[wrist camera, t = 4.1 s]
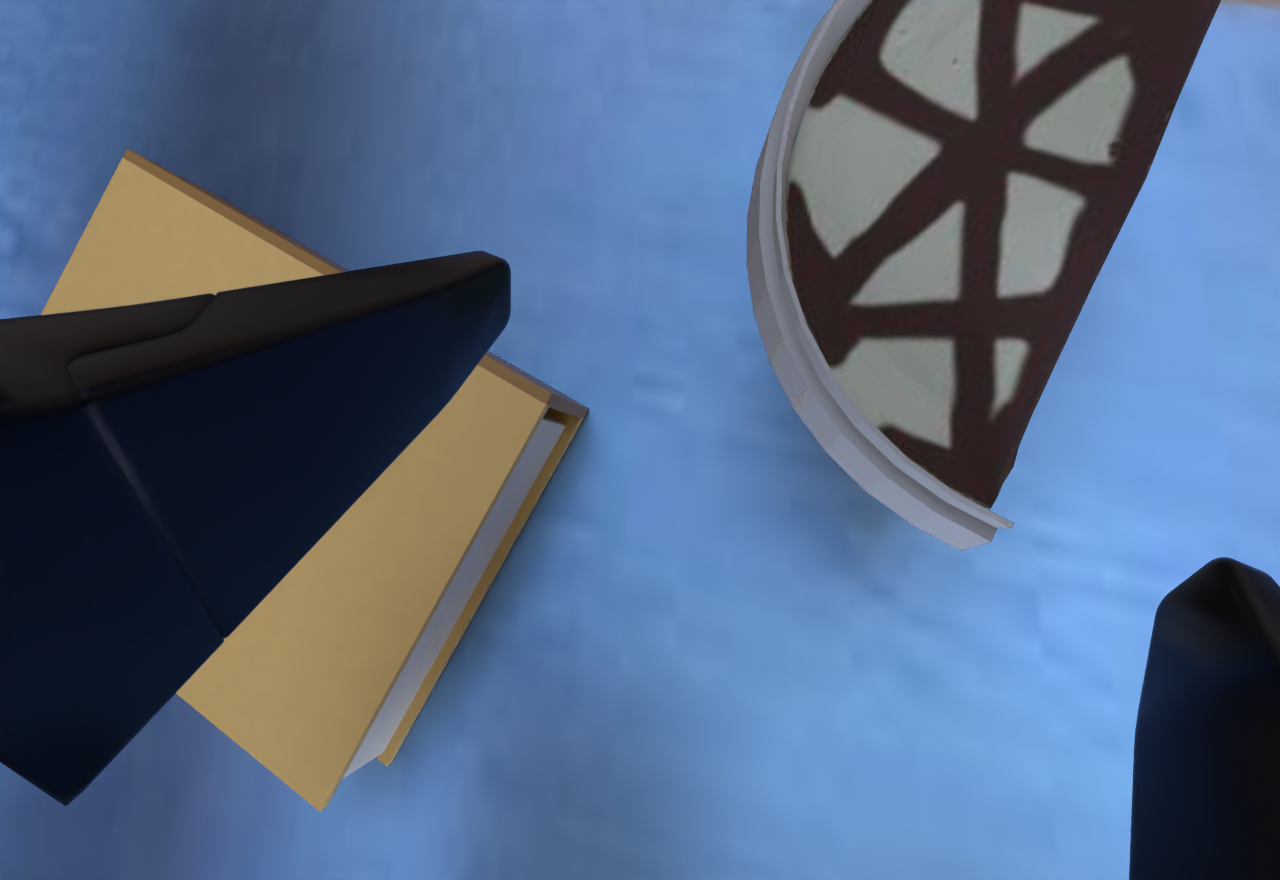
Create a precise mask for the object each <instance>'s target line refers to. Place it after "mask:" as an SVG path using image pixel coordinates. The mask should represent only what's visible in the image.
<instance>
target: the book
mask: <svg viewBox="0 0 1280 880" xmlns="http://www.w3.org/2000/svg"><path fill="white" fill-rule="evenodd" d="M341 272H348V270H346V269H344V268H343V267H341V266H339V265H338V264H336V263H334V262H332V261H331V260H329V259H327V258H325V257H324V256H322V255H320V254H318V253H317V252H315V251H313V250H311V249H310V248H308V247H306V246H304V245H303V244H301V243H299V242H297V241H296V240H294V239H292V238H291V237H289V236H287V235H285V234H284V233H282V232H280V231H278V230H277V229H275V228H273V227H271V226H270V225H268V224H266V223H264V222H263V221H261V220H259V219H257V218H256V217H254V216H252V215H250V214H249V213H247V212H245V211H244V210H242V209H240V208H238V207H237V206H235V205H233V204H231V203H230V202H228V201H226V200H224V199H223V198H221V197H219V196H217V195H216V194H214V193H212V192H210V191H208V190H206V189H204V188H202V187H200V186H198V185H197V184H195V183H193V182H191V181H189V180H187V179H185V178H183V177H181V176H179V175H177V174H175V173H174V172H172V171H170V170H168V169H166V168H164V167H162V166H160V165H158V164H156V163H154V162H153V161H151V160H149V159H147V158H145V157H143V156H141V155H139V154H137V153H135V152H133V151H132V150H130V149H127V150H126V152H125V154H124V156H123V158H122V160H121V162H120V163H119V165H118V167H117V169H116V171H115V173H114V175H113V177H112V179H111V181H110V183H109V185H108V187H107V188H106V190H105V192H104V194H103V196H102V198H101V200H100V202H99V204H98V206H97V208H96V210H95V212H94V213H93V215H92V217H91V219H90V221H89V223H88V225H87V227H86V229H85V231H84V233H83V235H82V237H81V238H80V240H79V242H78V244H77V246H76V248H75V250H74V252H73V254H72V256H71V258H70V260H69V262H68V263H67V265H66V267H65V269H64V271H63V273H62V275H61V277H60V279H59V281H58V283H57V285H56V287H55V288H54V290H53V292H52V294H51V296H50V298H49V300H48V302H47V304H46V306H45V308H44V310H43V312H42V313H41V315H46V314H56V313H65V312H75V311H83V310H92V309H100V308H109V307H118V306H126V305H134V304H141V303H148V302H155V301H162V300H169V299H176V298H182V297H189V296H195V295H201V294H207V293H212V294H214V295H216V293H218V292H221V291H228V290H234V289H240V288H246V287H253V286H259V285H265V284H272V283H278V282H284V281H291V280H297V279H303V278H310V277H316V276H322V275H329V274H335V273H341ZM588 410H589V409H588V408H587V407H585V406H583V405H581V404H580V403H578V402H576V401H574V400H573V399H571V398H569V397H567V396H566V395H564V394H562V393H560V392H559V391H557V390H555V389H553V388H552V387H550V386H548V385H546V384H545V383H543V382H541V381H539V380H538V379H536V378H534V377H533V376H531V375H529V374H527V373H526V372H524V371H522V370H520V369H519V368H517V367H515V366H513V365H512V364H510V363H508V362H506V361H505V360H503V359H501V358H499V357H498V356H496V355H494V354H492V353H491V352H489V351H487V353H486V354H485V355H484V357H483V358H482V359H481V361H480V362H479V363H478V365H477V366H476V367H475V369H474V370H473V371H472V373H471V374H470V376H469V377H468V378H467V380H466V381H465V382H464V384H463V385H462V386H461V388H460V389H459V390H458V392H457V393H456V394H455V395H454V397H453V398H452V399H451V400H450V402H449V403H448V404H447V405H446V406H445V407H444V408H443V409H442V411H441V412H440V413H439V414H438V415H437V416H436V417H435V418H434V419H433V420H432V421H431V422H430V424H429V425H428V426H427V427H426V428H425V429H424V430H423V431H422V432H421V433H420V434H419V435H418V436H417V437H416V438H415V439H414V440H413V442H412V443H411V444H410V445H409V446H408V447H407V448H406V449H405V450H404V451H403V452H402V453H401V454H400V455H399V456H398V457H397V459H396V460H395V461H394V462H393V463H392V464H391V465H390V466H389V467H388V468H387V469H386V470H385V471H384V472H383V473H382V474H381V475H380V477H379V478H378V479H377V480H376V481H375V482H374V483H373V484H372V485H371V486H370V487H369V488H368V489H367V490H366V491H365V492H364V494H363V495H362V496H361V497H360V498H359V499H358V500H357V501H356V502H355V503H354V504H353V505H352V506H351V507H350V508H349V509H348V510H347V512H346V513H345V514H344V515H343V516H342V517H341V518H340V519H339V520H338V521H337V522H336V523H335V524H334V525H333V526H332V527H331V529H330V530H329V531H328V532H327V533H326V534H325V535H324V536H323V537H322V538H321V539H320V540H319V541H318V542H317V543H316V544H315V545H314V547H313V548H312V549H311V550H310V551H309V552H308V553H307V554H306V555H305V556H304V557H303V558H302V559H301V560H300V561H299V562H298V564H297V565H296V566H295V567H294V568H293V569H292V570H291V571H290V572H289V573H288V574H287V575H286V576H285V577H284V578H283V579H282V580H281V582H280V583H279V584H278V585H277V586H276V587H275V588H274V589H273V590H272V591H271V592H270V593H269V594H268V595H267V596H266V597H265V599H264V600H263V601H262V602H261V603H260V604H259V605H258V606H257V607H256V608H255V609H254V610H253V611H252V612H251V613H250V614H249V615H248V617H247V618H246V619H245V620H244V621H243V622H242V623H241V624H240V625H239V626H238V627H237V628H236V629H235V630H234V631H233V632H232V633H231V635H230V636H229V637H227V638H224V643H223V644H222V645H221V646H220V647H219V648H218V649H217V650H216V651H215V652H214V653H213V654H212V655H211V656H210V657H209V658H208V660H207V661H206V662H205V663H204V664H203V665H202V666H201V667H200V668H199V669H198V670H197V671H196V672H195V673H194V674H193V675H192V676H191V678H190V679H189V680H188V681H187V682H186V683H185V684H184V685H183V686H182V687H181V688H180V689H179V690H178V691H177V692H176V694H178V695H179V696H180V697H181V698H182V699H184V700H185V701H186V702H187V703H188V704H190V705H191V706H192V707H193V708H195V709H196V710H197V711H198V712H199V713H201V714H202V715H203V716H204V717H205V718H207V719H208V720H209V721H210V722H212V723H213V724H214V725H215V726H216V727H218V728H219V729H220V730H221V731H222V732H224V733H225V734H226V735H227V736H229V737H230V738H231V739H232V740H233V741H235V742H236V743H237V744H238V745H239V746H241V747H242V748H243V749H244V750H246V751H247V752H248V753H249V754H250V755H252V756H253V757H254V758H255V759H256V760H258V761H259V762H260V763H261V764H263V765H264V766H265V767H266V768H267V769H269V770H270V771H271V772H272V773H273V774H275V775H276V776H277V777H278V778H280V779H281V780H282V781H283V782H284V783H286V784H287V785H288V786H289V787H290V788H292V789H293V790H294V791H295V792H297V793H298V794H299V795H300V796H301V797H303V798H304V799H305V800H306V801H307V802H309V803H310V804H311V805H312V806H313V807H315V808H316V809H317V810H318V811H322V810H323V809H324V808H326V807H327V805H328V804H329V802H330V800H331V798H332V796H333V795H334V793H335V791H336V789H337V787H338V786H339V784H340V782H341V780H342V779H343V778H345V777H346V776H348V775H349V774H351V773H353V772H354V771H356V770H357V769H359V768H360V767H362V766H363V765H365V764H367V763H368V762H370V761H371V760H373V759H374V758H377V759H378V760H379V761H381V762H382V763H383V764H385V765H386V766H387V765H389V764H390V763H392V761H393V759H394V758H395V756H396V754H397V752H398V750H399V749H400V747H401V745H402V743H403V741H404V740H405V738H406V736H407V734H408V733H409V731H410V729H411V727H412V725H413V724H414V722H415V720H416V718H417V716H418V715H419V713H420V711H421V709H422V707H423V706H424V704H425V702H426V700H427V699H428V697H429V695H430V693H431V691H432V690H433V688H434V686H435V684H436V682H437V681H438V679H439V677H440V675H441V674H442V672H443V670H444V668H445V666H446V665H447V663H448V661H449V659H450V657H451V656H452V654H453V652H454V650H455V648H456V647H457V645H458V643H459V641H460V640H461V638H462V636H463V634H464V632H465V631H466V629H467V627H468V625H469V623H470V622H471V620H472V618H473V616H474V614H475V613H476V611H477V609H478V607H479V606H480V604H481V602H482V600H483V598H484V597H485V595H486V593H487V591H488V589H489V588H490V586H491V584H492V582H493V580H494V579H495V577H496V575H497V573H498V572H499V570H500V568H501V566H502V564H503V563H504V561H505V559H506V557H507V555H508V554H509V552H510V550H511V548H512V546H513V545H514V543H515V541H516V539H517V538H518V536H519V534H520V532H521V530H522V529H523V527H524V525H525V523H526V521H527V520H528V518H529V516H530V514H531V513H532V511H533V509H534V507H535V505H536V504H537V502H538V500H539V498H540V496H541V495H542V493H543V491H544V489H545V487H546V486H547V484H548V482H549V480H550V479H551V477H552V475H553V473H554V471H555V470H556V468H557V466H558V464H559V462H560V461H561V459H562V457H563V455H564V453H565V452H566V450H567V448H568V446H569V445H570V443H571V441H572V439H573V437H574V436H575V434H576V432H577V430H578V428H579V427H580V425H581V423H582V421H583V419H584V417H585V416H586V414H587V412H588Z"/></svg>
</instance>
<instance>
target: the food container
mask: <svg viewBox="0 0 1280 880" xmlns="http://www.w3.org/2000/svg"><path fill="white" fill-rule="evenodd" d="M1220 1H1221V0H836V1H835V2H834V3H833V5H832V6H831V8H830V9H829V10H828V12H827V13H826V14H825V16H824V17H823V18H822V20H821V21H820V22H819V24H818V25H817V26H816V28H815V29H814V31H813V33H812V35H811V37H810V38H809V40H808V42H807V44H806V46H805V48H804V50H803V51H802V53H801V55H800V57H799V59H798V61H797V63H796V64H795V66H794V68H793V70H792V72H791V74H790V76H789V77H788V80H787V83H786V85H785V88H784V91H783V93H782V96H781V99H780V101H779V104H778V107H777V109H776V112H775V115H774V117H773V120H772V123H771V126H770V129H769V131H768V134H767V137H766V140H765V143H764V146H763V149H762V151H761V154H760V157H759V160H758V163H757V166H756V171H755V176H754V182H753V187H752V193H751V199H750V204H749V210H748V215H747V270H748V277H749V284H750V291H751V297H752V304H753V311H754V316H755V319H756V322H757V325H758V328H759V331H760V334H761V337H762V340H763V343H764V347H765V350H766V353H767V356H768V359H769V362H770V364H771V366H772V368H773V370H774V372H775V374H776V376H777V378H778V380H779V382H780V383H781V385H782V387H783V389H784V391H785V393H786V395H787V397H788V399H789V401H790V403H791V405H792V407H793V409H794V410H795V411H796V413H797V414H798V415H799V417H800V418H801V419H802V421H803V422H804V424H805V425H806V426H807V428H808V429H809V430H810V432H811V433H812V434H813V436H814V437H815V438H816V440H817V441H818V442H819V444H820V445H821V447H822V448H823V449H824V451H825V452H826V453H827V454H828V455H829V456H830V457H831V458H832V459H833V460H834V461H835V462H836V463H837V464H838V465H839V466H840V467H841V468H842V469H843V470H844V471H845V472H846V473H847V474H848V475H849V476H850V477H851V478H852V479H854V480H855V481H856V482H857V483H858V484H859V485H860V486H861V487H862V488H863V489H864V490H865V491H866V492H867V493H869V494H870V495H871V496H873V497H874V498H876V499H877V500H878V501H880V502H881V503H882V504H884V505H885V506H887V507H888V508H889V509H891V510H892V511H894V512H895V513H896V514H898V515H899V516H900V517H902V518H903V519H905V520H906V521H907V522H909V523H910V524H911V525H913V526H915V527H917V528H919V529H921V530H923V531H924V532H926V533H928V534H930V535H932V536H934V537H936V538H938V539H940V540H942V541H943V542H945V543H947V544H949V545H951V546H953V547H955V548H957V549H959V550H964V549H968V548H971V547H975V546H978V545H982V544H985V543H989V542H991V541H992V539H993V536H994V534H995V532H996V529H997V528H1012V527H1013V525H1014V523H1013V522H1011V521H1009V520H1007V519H1005V518H1003V517H1001V516H999V515H997V514H995V513H993V512H991V511H989V510H988V509H990V508H991V507H992V505H993V503H994V502H995V500H996V498H997V496H998V494H999V492H1000V489H1001V487H1002V484H1003V482H1004V481H1005V479H1006V478H1007V476H1008V474H1009V473H1010V471H1011V470H1012V468H1013V466H1014V462H1015V459H1016V455H1017V451H1018V447H1019V444H1020V442H1021V440H1022V437H1023V435H1024V432H1025V430H1026V428H1027V425H1028V423H1029V420H1030V418H1031V416H1032V414H1033V411H1034V409H1035V407H1036V405H1037V403H1038V401H1039V399H1040V396H1041V394H1042V392H1043V390H1044V388H1045V386H1046V384H1047V381H1048V379H1049V377H1050V375H1051V373H1052V371H1053V369H1054V366H1055V364H1056V362H1057V360H1058V358H1059V356H1060V354H1061V351H1062V349H1063V347H1064V345H1065V343H1066V341H1067V339H1068V337H1069V334H1070V332H1071V330H1072V328H1073V326H1074V324H1075V322H1076V320H1077V318H1078V315H1079V313H1080V311H1081V309H1082V307H1083V305H1084V303H1085V301H1086V299H1087V296H1088V294H1089V292H1090V290H1091V288H1092V286H1093V284H1094V282H1095V280H1096V278H1097V276H1098V274H1099V272H1100V270H1101V268H1102V266H1103V264H1104V262H1105V260H1106V258H1107V256H1108V254H1109V252H1110V250H1111V248H1112V246H1113V244H1114V242H1115V240H1116V238H1117V236H1118V234H1119V232H1120V230H1121V228H1122V226H1123V224H1124V222H1125V220H1126V217H1127V215H1128V213H1129V211H1130V209H1131V207H1132V205H1133V203H1134V201H1135V199H1136V197H1137V195H1138V193H1139V191H1140V189H1141V187H1142V185H1143V183H1144V181H1145V179H1146V177H1147V175H1148V172H1149V170H1150V167H1151V165H1152V162H1153V160H1154V157H1155V155H1156V152H1157V150H1158V147H1159V145H1160V142H1161V140H1162V137H1163V135H1164V132H1165V130H1166V127H1167V125H1168V122H1169V120H1170V117H1171V115H1172V112H1173V110H1174V107H1175V105H1176V102H1177V100H1178V98H1179V95H1180V93H1181V91H1182V88H1183V86H1184V84H1185V81H1186V79H1187V77H1188V74H1189V72H1190V70H1191V67H1192V65H1193V63H1194V60H1195V58H1196V56H1197V53H1198V51H1199V49H1200V46H1201V44H1202V42H1203V39H1204V37H1205V35H1206V32H1207V30H1208V28H1209V26H1210V24H1211V21H1212V19H1213V17H1214V15H1215V12H1216V10H1217V8H1218V6H1219V4H1220ZM986 508H988V509H986Z"/></svg>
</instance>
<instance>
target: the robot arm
mask: <svg viewBox="0 0 1280 880" xmlns="http://www.w3.org/2000/svg"><path fill="white" fill-rule="evenodd" d="M510 311H511V270H510V266H509V264H508V263H507V261H506V260H504V259H502V258H499V257H497V256H495V255H492V254H490V253H487V252H485V251H474V252H468V253H462V254H455V255H449V256H443V257H436V258H430V259H424V260H417V261H411V262H405V263H398V264H392V265H386V266H379V267H373V268H367V269H360V270H354V271H348V272H341V273H335V274H329V275H322V276H316V277H310V278H303V279H297V280H291V281H284V282H278V283H272V284H265V285H259V286H253V287H246V288H240V289H234V290H228V291H221V292H218V293H216V295H214V294H212V293H207V294H201V295H195V296H189V297H182V298H176V299H169V300H162V301H155V302H148V303H141V304H134V305H126V306H118V307H109V308H100V309H92V310H83V311H75V312H65V313H56V314H46V315H37V316H27V317H18V318H8V319H0V762H1V763H2V764H4V765H5V766H7V767H8V768H10V769H11V770H13V771H14V772H16V773H17V774H19V775H20V776H22V777H23V778H24V779H26V780H27V781H29V782H30V783H32V784H33V785H35V786H36V787H38V788H39V789H41V790H42V791H44V792H45V793H47V794H48V795H50V796H51V797H52V798H54V799H55V800H57V801H58V802H60V803H61V804H63V805H64V806H67V805H68V804H70V803H71V802H72V801H73V800H74V799H75V798H76V797H77V796H79V795H80V794H81V793H82V792H83V791H84V790H85V789H86V788H87V787H88V786H89V785H90V784H91V782H92V781H93V780H94V779H95V778H96V777H97V776H98V775H99V774H100V773H101V772H102V771H103V770H104V769H105V768H106V767H107V765H108V764H109V763H110V762H111V761H112V760H113V759H114V758H115V757H116V756H117V755H118V754H119V753H120V752H121V751H122V750H123V749H124V747H125V746H126V745H127V744H128V743H129V742H130V741H131V740H132V739H133V738H134V737H135V736H136V735H137V734H138V733H139V732H140V730H141V729H142V728H143V727H144V726H145V725H146V724H147V723H148V722H149V721H150V720H151V719H152V718H153V717H154V716H155V715H156V714H157V712H158V711H159V710H160V709H161V708H162V707H163V706H164V705H165V704H166V703H167V702H168V701H169V700H170V699H171V698H172V697H173V696H174V694H175V693H176V692H177V691H178V690H179V689H180V688H181V687H182V686H183V685H184V684H185V683H186V682H187V681H188V680H189V679H190V678H191V676H192V675H193V674H194V673H195V672H196V671H197V670H198V669H199V668H200V667H201V666H202V665H203V664H204V663H205V662H206V661H207V660H208V658H209V657H210V656H211V655H212V654H213V653H214V652H215V651H216V650H217V649H218V648H219V647H220V646H221V645H222V644H223V643H224V638H227V637H229V636H230V635H231V633H232V632H233V631H234V630H235V629H236V628H237V627H238V626H239V625H240V624H241V623H242V622H243V621H244V620H245V619H246V618H247V617H248V615H249V614H250V613H251V612H252V611H253V610H254V609H255V608H256V607H257V606H258V605H259V604H260V603H261V602H262V601H263V600H264V599H265V597H266V596H267V595H268V594H269V593H270V592H271V591H272V590H273V589H274V588H275V587H276V586H277V585H278V584H279V583H280V582H281V580H282V579H283V578H284V577H285V576H286V575H287V574H288V573H289V572H290V571H291V570H292V569H293V568H294V567H295V566H296V565H297V564H298V562H299V561H300V560H301V559H302V558H303V557H304V556H305V555H306V554H307V553H308V552H309V551H310V550H311V549H312V548H313V547H314V545H315V544H316V543H317V542H318V541H319V540H320V539H321V538H322V537H323V536H324V535H325V534H326V533H327V532H328V531H329V530H330V529H331V527H332V526H333V525H334V524H335V523H336V522H337V521H338V520H339V519H340V518H341V517H342V516H343V515H344V514H345V513H346V512H347V510H348V509H349V508H350V507H351V506H352V505H353V504H354V503H355V502H356V501H357V500H358V499H359V498H360V497H361V496H362V495H363V494H364V492H365V491H366V490H367V489H368V488H369V487H370V486H371V485H372V484H373V483H374V482H375V481H376V480H377V479H378V478H379V477H380V475H381V474H382V473H383V472H384V471H385V470H386V469H387V468H388V467H389V466H390V465H391V464H392V463H393V462H394V461H395V460H396V459H397V457H398V456H399V455H400V454H401V453H402V452H403V451H404V450H405V449H406V448H407V447H408V446H409V445H410V444H411V443H412V442H413V440H414V439H415V438H416V437H417V436H418V435H419V434H420V433H421V432H422V431H423V430H424V429H425V428H426V427H427V426H428V425H429V424H430V422H431V421H432V420H433V419H434V418H435V417H436V416H437V415H438V414H439V413H440V412H441V411H442V409H443V408H444V407H445V406H446V405H447V404H448V403H449V402H450V400H451V399H452V398H453V397H454V395H455V394H456V393H457V392H458V390H459V389H460V388H461V386H462V385H463V384H464V382H465V381H466V380H467V378H468V377H469V376H470V374H471V373H472V371H473V370H474V369H475V367H476V366H477V365H478V363H479V362H480V361H481V359H482V358H483V357H484V355H485V354H486V353H487V351H488V350H489V349H490V347H491V346H492V345H493V343H494V342H495V341H496V339H497V338H498V337H499V335H500V334H501V333H502V331H503V330H504V328H505V327H506V325H507V323H508V320H509V317H510ZM1129 880H1280V587H1279V585H1278V584H1277V583H1276V582H1275V581H1274V580H1273V579H1272V578H1271V577H1270V576H1269V575H1268V574H1266V573H1265V572H1263V571H1261V570H1258V569H1256V568H1253V567H1251V566H1249V565H1246V564H1244V563H1241V562H1239V561H1236V560H1234V559H1231V558H1227V557H1221V558H1217V559H1214V560H1212V561H1210V562H1209V563H1207V564H1206V565H1205V566H1203V567H1202V568H1201V569H1199V570H1198V571H1197V572H1195V573H1194V574H1193V575H1192V576H1190V577H1189V578H1188V579H1186V580H1185V581H1184V582H1183V583H1181V584H1180V585H1179V586H1177V587H1176V588H1175V589H1173V590H1172V591H1171V592H1170V593H1168V594H1167V595H1166V596H1165V597H1164V599H1163V600H1162V601H1161V603H1160V605H1159V606H1158V609H1157V611H1156V615H1155V620H1154V626H1153V631H1152V637H1151V642H1150V648H1149V654H1148V659H1147V665H1146V670H1145V676H1144V681H1143V687H1142V692H1141V698H1140V703H1139V709H1138V716H1137V723H1136V730H1135V744H1134V765H1133V791H1132V817H1131V844H1130V870H1129Z"/></svg>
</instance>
